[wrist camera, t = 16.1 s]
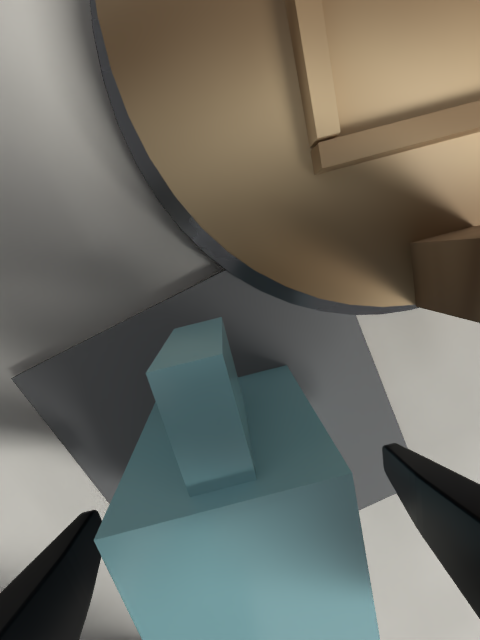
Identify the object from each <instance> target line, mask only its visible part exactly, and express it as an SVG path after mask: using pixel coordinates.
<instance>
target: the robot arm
mask: <svg viewBox="0 0 480 640" xmlns="http://www.w3.org/2000/svg"><path fill="white" fill-rule="evenodd" d="M382 455H383V467H384V471H385V473H386V475H387V477H388V479H389V481H390V482H391V484H392V486H393V488H394V489H395V491H396V493H397V495H398V496H399V498H400V500H401V502H402V503H403V505H404V507H405V509H406V510H407V512H408V514H409V516H410V517H411V519H412V521H413V522H414V524H415V526H416V527H417V529H418V530H419V532H420V533H421V535H422V537H423V538H424V539H425V541H426V542H427V544H428V545H429V547H430V548H431V550H432V551H433V552H434V554H435V555H436V557H437V558H438V560H439V561H440V562H441V564H442V565H443V567H444V568H445V570H446V571H447V573H448V574H449V575H450V577H451V578H452V580H453V581H454V583H455V584H456V585H457V587H458V588H459V590H460V591H461V593H462V594H463V596H464V597H465V598H466V600H467V601H468V603H469V604H470V606H471V607H472V609H473V610H474V611H475V613H476V614H477V616H478V617H479V619H480V484H478V483H476V482H474V481H472V480H470V479H468V478H466V477H464V476H462V475H460V474H458V473H456V472H454V471H452V470H450V469H448V468H446V467H444V466H442V465H440V464H438V463H436V462H434V461H432V460H430V459H428V458H426V457H424V456H421V455H419V454H417V453H415V452H413V451H411V450H409V449H407V448H405V447H403V446H401V445H399V444H397V443H391V444H387V445H384V446H383V447H382ZM101 523H102V520H101V518H100V515H99V513H98V511H96V510H91V511H87V512H83V513H81V514H80V515H79V516H78V517H77V518H76V519H75V520H74V521H73V522H72V523H71V524H70V525H69V526H68V527H67V528H66V529H65V530H64V531H63V532H62V533H61V534H60V535H59V536H58V537H57V538H56V539H55V540H54V541H53V542H52V543H51V544H50V545H48V546H47V547H46V548H45V549H44V550H43V551H42V552H41V553H40V554H39V555H38V556H37V557H36V558H35V559H34V560H33V561H32V562H31V563H30V564H29V565H28V566H27V567H26V568H25V569H24V570H23V571H22V572H21V573H20V574H19V575H18V576H17V577H16V578H15V579H14V580H13V581H12V582H11V583H10V584H9V585H8V586H7V587H6V588H5V589H4V590H3V591H2V592H1V593H0V640H79V638H80V635H81V632H82V628H83V625H84V622H85V619H86V616H87V612H88V609H89V606H90V602H91V598H92V594H93V590H94V586H95V582H96V577H97V573H98V569H99V564H100V560H101V554H100V552H99V550H98V548H97V546H96V544H95V542H94V538H95V536H96V534H97V532H98V529H99V527H100V525H101Z"/></svg>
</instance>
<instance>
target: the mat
mask: <svg viewBox="0 0 480 640" xmlns="http://www.w3.org/2000/svg"><path fill="white" fill-rule="evenodd" d="M219 317H222V320H223V323H224V327H225V331H226V335H227V339H228V342H229V346H230V350H231V354H232V357H233V361H234V365H235V369H236V372H237V376H238V377H242V376H246V375H250V374H254V373H258V372H261V371H265V370H269V369H273V368H277V367H281V366H285V365H287V366H288V368H289V370H290V371H291V373H292V375H293V376H294V378H295V380H296V381H297V383H298V385H299V386H300V388H301V390H302V391H303V393H304V394H305V396H306V398H307V399H308V401H309V403H310V404H311V406H312V408H313V409H314V411H315V413H316V414H317V416H318V418H319V419H320V421H321V422H322V424H323V426H324V427H325V429H326V431H327V432H328V434H329V436H330V437H331V439H332V441H333V442H334V444H335V446H336V447H337V449H338V450H339V452H340V454H341V455H342V457H343V459H344V460H345V462H346V464H347V465H348V467H349V469H350V470H351V472H352V475H353V481H354V487H355V493H356V499H357V505H358V510H361V509H363V508H365V507H367V506H369V505H372V504H374V503H376V502H378V501H380V500H383V499H385V498H387V497H389V496H391V495H394V494H396V491H395V489H394V488H393V486H392V484H391V482H390V481H389V479H388V477H387V475H386V473H385V471H384V467H383V455H382V447H383V446H384V445H387V444H391V443H397V444H399V445H401V446H403V447H405V448H407V446H406V443H405V441H404V438H403V435H402V433H401V430H400V428H399V425H398V423H397V420H396V417H395V415H394V412H393V410H392V407H391V405H390V402H389V400H388V397H387V394H386V392H385V389H384V387H383V384H382V382H381V379H380V376H379V374H378V371H377V369H376V366H375V364H374V361H373V358H372V356H371V353H370V351H369V348H368V346H367V343H366V341H365V338H364V335H363V333H362V330H361V328H360V325H359V323H358V320H357V317H356V315H348V314H340V313H331V312H323V311H318V310H314V309H310V308H306V307H302V306H298V305H295V304H291V303H288V302H286V301H283V300H281V299H279V298H276V297H274V296H271V295H269V294H266V293H264V292H262V291H260V290H258V289H256V288H255V287H253V286H251V285H250V284H248V283H246V282H244V281H243V280H241V279H239V278H237V277H236V276H234V275H233V274H231V273H230V272H229V271H227V270H224V271H222V272H220V273H218V274H216V275H214V276H212V277H210V278H208V279H206V280H204V281H202V282H200V283H198V284H196V285H194V286H192V287H190V288H188V289H187V290H185V291H183V292H181V293H179V294H177V295H175V296H173V297H171V298H169V299H167V300H165V301H163V302H161V303H159V304H157V305H155V306H153V307H151V308H149V309H147V310H145V311H143V312H141V313H139V314H137V315H135V316H133V317H131V318H129V319H127V320H125V321H123V322H121V323H119V324H117V325H115V326H113V327H111V328H109V329H107V330H105V331H104V332H102V333H100V334H98V335H96V336H94V337H92V338H90V339H88V340H86V341H84V342H82V343H80V344H78V345H76V346H74V347H72V348H70V349H68V350H66V351H64V352H62V353H60V354H58V355H56V356H54V357H52V358H50V359H48V360H46V361H44V362H42V363H40V364H38V365H36V366H34V367H32V368H30V369H28V370H26V371H24V372H23V373H21V374H19V375H17V376H15V377H14V378H12V380H13V382H14V383H15V384H16V385H17V387H18V388H19V389H20V390H21V392H22V393H23V394H24V396H25V397H26V398H27V399H28V401H29V402H30V403H31V404H32V406H33V407H34V408H35V410H36V411H37V412H38V413H39V415H40V416H41V417H42V418H43V420H44V421H45V422H46V423H47V425H48V426H49V427H50V429H51V430H52V431H53V432H54V434H55V435H56V436H57V437H58V439H59V440H60V441H61V443H62V444H63V445H64V446H65V448H66V449H67V450H68V451H69V453H70V454H71V455H72V457H73V458H74V459H75V460H76V462H77V463H78V464H79V465H80V467H81V468H82V469H83V470H84V472H85V473H86V474H87V476H88V477H89V478H90V479H91V481H92V482H93V483H94V484H95V486H96V487H97V488H98V490H99V491H100V492H101V493H102V495H103V496H104V497H105V498H106V500H107V501H108V502H109V504H110V502H111V500H112V498H113V496H114V494H115V491H116V489H117V487H118V485H119V482H120V480H121V478H122V476H123V473H124V471H125V469H126V467H127V464H128V462H129V460H130V458H131V456H132V453H133V451H134V449H135V447H136V444H137V442H138V440H139V438H140V435H141V433H142V431H143V429H144V426H145V424H146V422H147V420H148V417H149V415H150V413H151V411H152V409H153V406H154V404H155V402H156V401H155V398H154V395H153V392H152V390H151V387H150V384H149V381H148V378H147V376H146V372H147V370H148V369H149V367H150V366H151V364H152V362H153V361H154V359H155V358H156V356H157V355H158V353H159V351H160V350H161V348H162V347H163V345H164V344H165V342H166V341H167V339H168V337H169V336H170V334H171V333H172V331H173V330H174V329H175V328H179V327H183V326H187V325H191V324H195V323H199V322H203V321H207V320H211V319H215V318H219ZM407 449H408V448H407Z"/></svg>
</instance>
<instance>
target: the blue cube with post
mask: <svg viewBox="0 0 480 640" xmlns="http://www.w3.org/2000/svg"><path fill="white" fill-rule="evenodd" d="M146 376H147V378H148V381H149V384H150V387H151V390H152V392H153V395H154V398H155V401H156V402H155V404H154V406H153V409H152V411H151V413H150V415H149V417H148V420H147V422H146V424H145V426H144V429H143V431H142V433H141V435H140V438H139V440H138V442H137V444H136V447H135V449H134V451H133V453H132V456H131V458H130V460H129V462H128V464H127V467H126V469H125V471H124V473H123V476H122V478H121V480H120V482H119V485H118V487H117V489H116V491H115V494H114V496H113V498H112V500H111V502H110V505H109V507H108V509H107V511H106V514H105V516H104V518H103V520H102V523H101V525H100V527H99V529H98V532H97V534H96V536H95V538H94V542H95V544H96V546H97V548H98V550H99V552H100V554H101V557H102V559H103V561H104V563H105V565H106V567H107V569H108V571H109V573H110V575H111V577H112V579H113V581H114V583H115V585H116V587H117V589H118V591H119V593H120V595H121V598H122V600H123V602H124V604H125V606H126V608H127V610H128V612H129V614H130V616H131V618H132V620H133V622H134V624H135V626H136V628H137V630H138V632H139V634H140V636H141V639H142V640H380V637H379V631H378V625H377V619H376V613H375V607H374V601H373V595H372V589H371V583H370V577H369V571H368V565H367V559H366V553H365V547H364V541H363V535H362V529H361V523H360V517H359V511H358V505H357V499H356V493H355V487H354V481H353V475H352V472H351V470H350V469H349V467H348V465H347V464H346V462H345V460H344V459H343V457H342V455H341V454H340V452H339V450H338V449H337V447H336V446H335V444H334V442H333V441H332V439H331V437H330V436H329V434H328V432H327V431H326V429H325V427H324V426H323V424H322V422H321V421H320V419H319V418H318V416H317V414H316V413H315V411H314V409H313V408H312V406H311V404H310V403H309V401H308V399H307V398H306V396H305V394H304V393H303V391H302V390H301V388H300V386H299V385H298V383H297V381H296V380H295V378H294V376H293V375H292V373H291V371H290V370H289V368H288V366H287V365H285V366H281V367H277V368H273V369H269V370H265V371H261V372H258V373H254V374H250V375H246V376H242V377H238V376H237V372H236V369H235V365H234V361H233V357H232V354H231V350H230V346H229V342H228V339H227V335H226V331H225V327H224V323H223V320H222V317H219V318H215V319H211V320H207V321H203V322H199V323H195V324H191V325H187V326H183V327H179V328H175V329H174V330H173V331H172V333H171V334H170V336H169V337H168V339H167V341H166V342H165V344H164V345H163V347H162V348H161V350H160V351H159V353H158V355H157V356H156V358H155V359H154V361H153V362H152V364H151V366H150V367H149V369H148V370H147V372H146Z"/></svg>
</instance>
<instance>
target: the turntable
mask: <svg viewBox="0 0 480 640" xmlns="http://www.w3.org/2000/svg"><path fill="white" fill-rule="evenodd" d="M95 1H96V8H97V15H98V20H99V24H100V28H101V32H102V36H103V39H104V43H105V47H106V51H107V55H108V59H109V63H110V67H111V70H112V73H113V76H114V78H115V81H116V84H117V86H118V89H119V92H120V95H121V97H122V100H123V103H124V105H125V108H126V111H127V113H128V116H129V118H130V120H131V122H132V124H133V126H134V128H135V130H136V132H137V134H138V136H139V138H140V140H141V142H142V144H143V146H144V148H145V150H146V152H147V154H148V156H149V158H150V159H151V161H152V162H153V164H154V165H155V167H156V168H157V170H158V171H159V173H160V174H161V176H162V177H163V179H164V180H165V182H166V183H167V185H168V187H169V188H170V190H171V191H172V193H173V194H174V195H175V197H176V198H177V199H178V201H179V202H180V203H181V204H182V205H183V207H184V208H185V209H186V210H187V211H188V212H189V214H190V215H191V216H192V217H193V218H194V220H195V221H196V222H197V223H198V224H199V225H200V227H201V228H202V229H203V230H204V231H205V232H207V233H208V234H209V235H210V236H211V237H212V238H213V239H214V240H215V241H216V242H218V243H219V244H220V245H221V246H222V247H223V248H224V249H225V250H226V251H227V252H229V253H230V254H232V255H233V256H235V257H236V258H237V259H239V260H240V261H242V262H243V263H245V264H246V265H247V266H249V267H250V268H252V269H253V270H255V271H257V272H259V273H260V274H262V275H264V276H266V277H268V278H270V279H272V280H274V281H276V282H278V283H280V284H282V285H284V286H286V287H288V288H291V289H294V290H297V291H300V292H302V293H305V294H308V295H311V296H314V297H317V298H320V299H325V300H329V301H334V302H339V303H344V304H349V305H361V306H376V307H389V306H403V305H416V307H420V308H424V309H428V310H432V311H436V312H440V313H444V314H447V315H451V316H455V317H459V318H463V319H467V320H471V321H475V322H479V323H480V0H95Z"/></svg>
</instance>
